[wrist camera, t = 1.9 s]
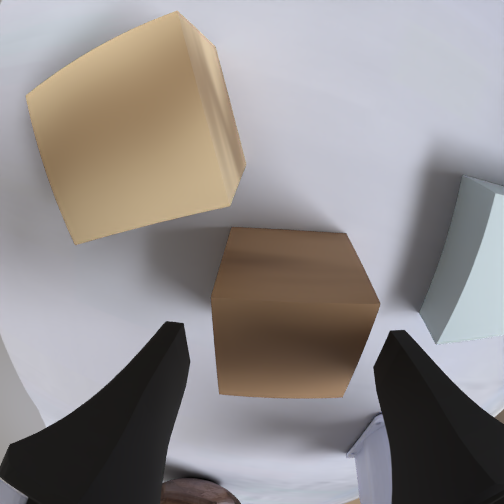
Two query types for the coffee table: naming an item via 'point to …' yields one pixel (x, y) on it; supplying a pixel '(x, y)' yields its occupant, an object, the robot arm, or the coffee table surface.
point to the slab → (470, 269)
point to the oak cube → (138, 131)
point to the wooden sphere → (195, 492)
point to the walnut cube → (290, 313)
